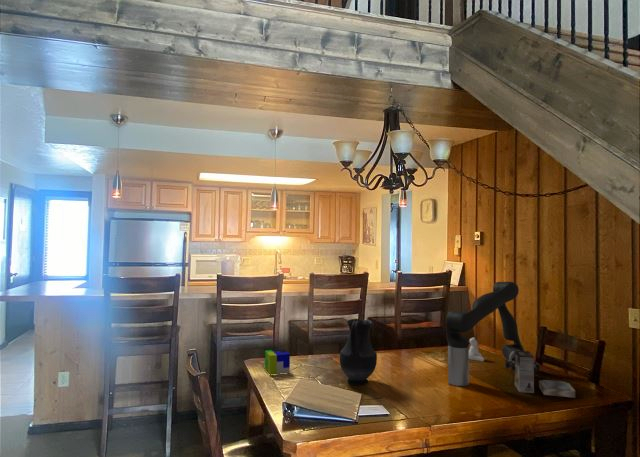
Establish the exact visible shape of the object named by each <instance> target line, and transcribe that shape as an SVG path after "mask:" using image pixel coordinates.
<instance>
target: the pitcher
mask: <svg viewBox="0 0 640 457" xmlns="http://www.w3.org/2000/svg"><path fill="white" fill-rule="evenodd" d="M346 323H347V325H348V327H349V336H348V339H347V341H346V343H345V345H344V347H343V348H341V350H339V351H340V352H339V365H340V368H341V370H342V372H343V374H345V375H346V377H347V383H348V384H349V385H352V386H365V385H368V384H369V380H368V378H369V377H371V375H372V374H373V373H374V372H375V370H376V366H377V361H378V355H377V354H378V353H377V352H376V351H375V349H374V348H373V346H372V343H371V341H370V329H371V327H372V325H373V322H372V321H371V320H370V319H365V320H364V319H359V318H352V319H347V320H346Z"/></svg>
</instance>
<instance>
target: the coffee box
mask: <svg viewBox="0 0 640 457" xmlns="http://www.w3.org/2000/svg"><path fill="white" fill-rule="evenodd" d="M514 354H515V371H514V387H516V389H517V391H518V392H519V393H527V394H535V373H534V362H535V357H534V355H533V354H532V353H531V352H530V351H528V350H524V351H514Z"/></svg>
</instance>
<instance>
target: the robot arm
mask: <svg viewBox="0 0 640 457" xmlns="http://www.w3.org/2000/svg"><path fill="white" fill-rule="evenodd" d="M519 292H520V289H519V286H518V284H517V283H515V282H514V281H496V282H495V283H494V285H493V288H492V291H491V292H487V293H484V294H482V295H481V296H479V297H477V298H476V299H475V300H474V301H473V302H472V306H471V310H469V311H460V310H450V311H449V312H447V314H446V318H445V333H446V334H445V336H446V340H447V380H448V381H447V383H448V385H452V386H455V387H456V386H457V387H466V386H469V385H470V365H469V364H470V359H469V349H470V346H469V345H470V342H469V340H468V339H467V338H466V337H464V336H463V335H462V334H461V333H467V332H470V330H472V329H473V328H474V327H475V326H476V325H477V324H479V323H480V321H482V320H483V319H485V318H486V317H487V316H489V315H490V314H492V313H493V312H495V311H496V310H498V313H499V316H500V319H501V325H502V333H503V338H504V340H506V341H512V342H514V343H515V344H505V345H503V346H502V349H501V352H502V355H503V357H504V358H505V359H504V367H505V369H510V370H511V371H513V372H515V354H514V351H525V348H524V346H523V345H522V343H521V339H520V336H519V331H518V330H519V329H518V324H517V321H516V319H515V318H514V316H513V314H511V312H510V310H509V309H508V307H507V305H506V304H507V303H508V302H511V301H513V300H515V299H516V298H517V297H518V295H519ZM540 367H541V365H540V363H538V361H534V374H535V373H537V372H540V371H541V370H540V369H541V368H540Z"/></svg>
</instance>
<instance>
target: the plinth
mask: <svg viewBox="0 0 640 457" xmlns="http://www.w3.org/2000/svg"><path fill="white" fill-rule="evenodd" d="M538 388H539V390H540V391H541V393H542V394H543V395H544V396H554V397H565V398H566V397H567V398H574V399H576V390H575V388H574V387H573V386H572V385H571V384H570V383H569V382H565V381H561V380H559V381H558V380H550V379H549V380H548V379H542V380H538Z"/></svg>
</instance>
